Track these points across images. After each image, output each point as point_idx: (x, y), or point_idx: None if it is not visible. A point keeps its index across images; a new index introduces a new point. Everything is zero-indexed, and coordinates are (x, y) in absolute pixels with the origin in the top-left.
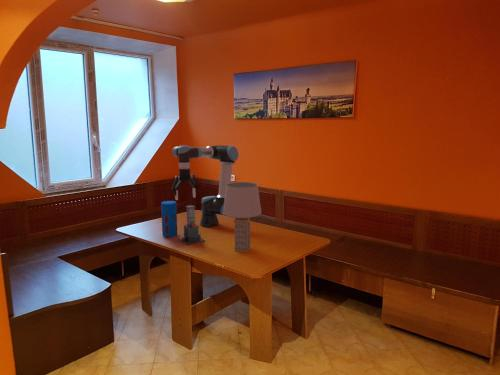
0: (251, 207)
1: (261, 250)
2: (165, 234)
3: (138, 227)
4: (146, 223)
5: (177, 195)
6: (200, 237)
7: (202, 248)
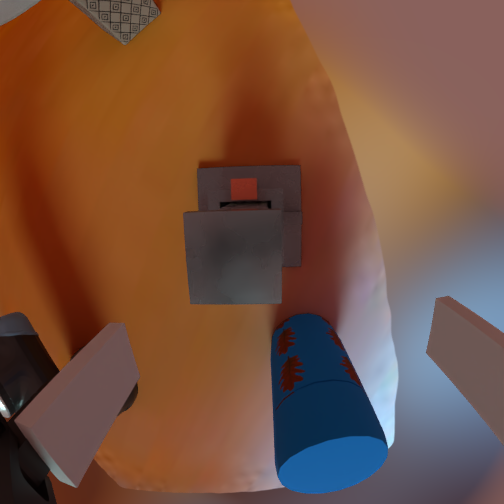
0: None
1: None
2: (335, 332)
3: None
4: None
5: (486, 330)
6: None
7: (254, 84)
